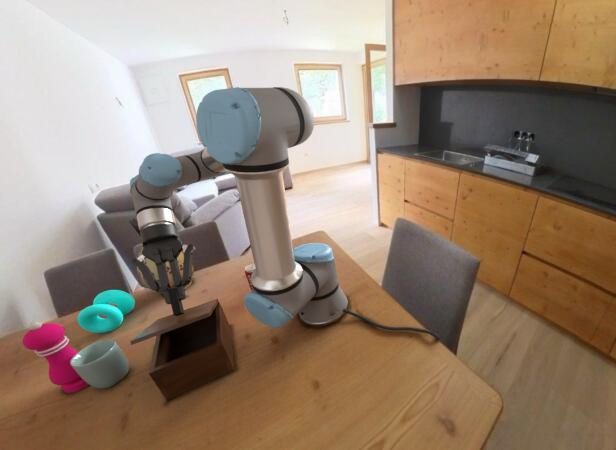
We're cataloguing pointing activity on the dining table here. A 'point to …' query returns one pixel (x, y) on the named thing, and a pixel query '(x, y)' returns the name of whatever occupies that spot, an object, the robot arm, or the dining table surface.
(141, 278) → the ceramic jug
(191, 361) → the chest
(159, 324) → the lid
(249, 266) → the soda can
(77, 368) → the cup
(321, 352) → the dining table surface
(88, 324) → the donuts
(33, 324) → the pepper mill
